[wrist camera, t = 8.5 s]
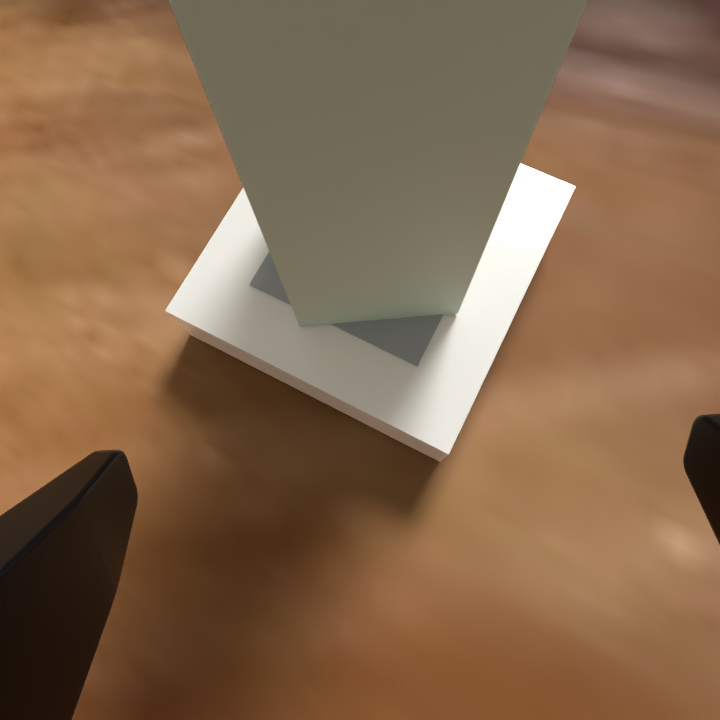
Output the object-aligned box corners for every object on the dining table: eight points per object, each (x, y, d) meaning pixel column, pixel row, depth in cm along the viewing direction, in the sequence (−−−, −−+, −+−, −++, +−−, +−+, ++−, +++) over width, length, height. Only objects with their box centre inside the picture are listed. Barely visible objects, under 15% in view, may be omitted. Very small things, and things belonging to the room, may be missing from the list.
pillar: (458, 313, 18) (713, -301, 4) (299, 326, 18) (69, -245, 4) (439, 173, 19) (593, -631, 6) (291, 186, 19) (97, -584, 6)
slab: (439, 461, 19) (449, 454, 17) (189, 334, 21) (164, 309, 18) (553, 223, 22) (576, 184, 19) (320, 122, 23) (313, 74, 20)
